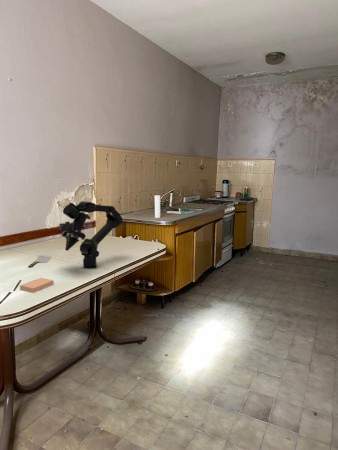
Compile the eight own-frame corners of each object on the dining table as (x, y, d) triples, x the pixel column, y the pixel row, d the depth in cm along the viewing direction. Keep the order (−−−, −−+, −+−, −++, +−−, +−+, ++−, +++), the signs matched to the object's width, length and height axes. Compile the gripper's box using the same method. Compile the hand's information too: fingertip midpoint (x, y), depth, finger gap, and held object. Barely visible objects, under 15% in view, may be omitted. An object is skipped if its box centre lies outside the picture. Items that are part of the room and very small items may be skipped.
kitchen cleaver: (42, 267, 178) (23, 265, 177) (42, 268, 178) (23, 267, 177) (55, 256, 202) (39, 255, 201) (55, 257, 202) (39, 256, 201)
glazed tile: (40, 277, 155) (19, 285, 145) (53, 280, 152) (33, 288, 141) (40, 282, 156) (20, 290, 145) (53, 285, 153) (33, 293, 142)
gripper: (58, 217, 174) (45, 244, 170) (71, 214, 160) (58, 244, 155) (76, 226, 180) (65, 252, 176) (91, 224, 166) (78, 253, 161)
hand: (66, 250), depth 167 cm, fingers closed
